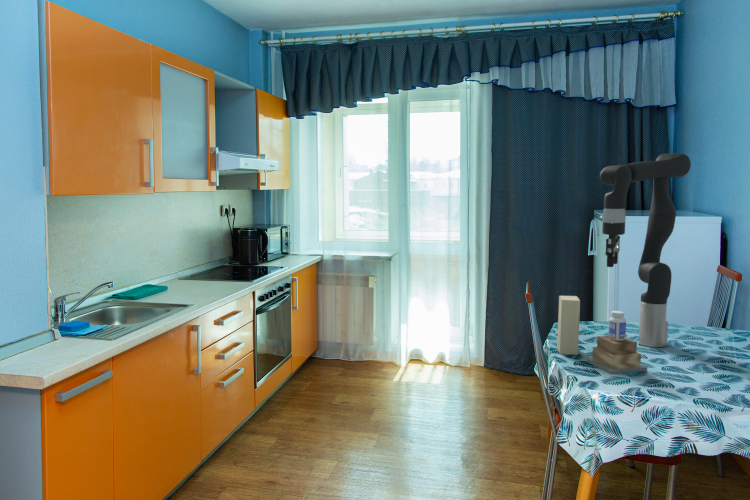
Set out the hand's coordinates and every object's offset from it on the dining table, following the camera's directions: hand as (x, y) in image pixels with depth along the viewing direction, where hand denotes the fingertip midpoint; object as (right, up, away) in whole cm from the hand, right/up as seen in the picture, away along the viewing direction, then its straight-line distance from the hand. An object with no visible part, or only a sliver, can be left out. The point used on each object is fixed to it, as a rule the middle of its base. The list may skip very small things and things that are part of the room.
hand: (612, 265), depth 195 cm
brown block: (-2, -34, -8) cm, 35 cm away
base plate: (-2, -35, -8) cm, 36 cm away
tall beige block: (-13, -34, +9) cm, 37 cm away
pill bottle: (-2, -26, -9) cm, 27 cm away
